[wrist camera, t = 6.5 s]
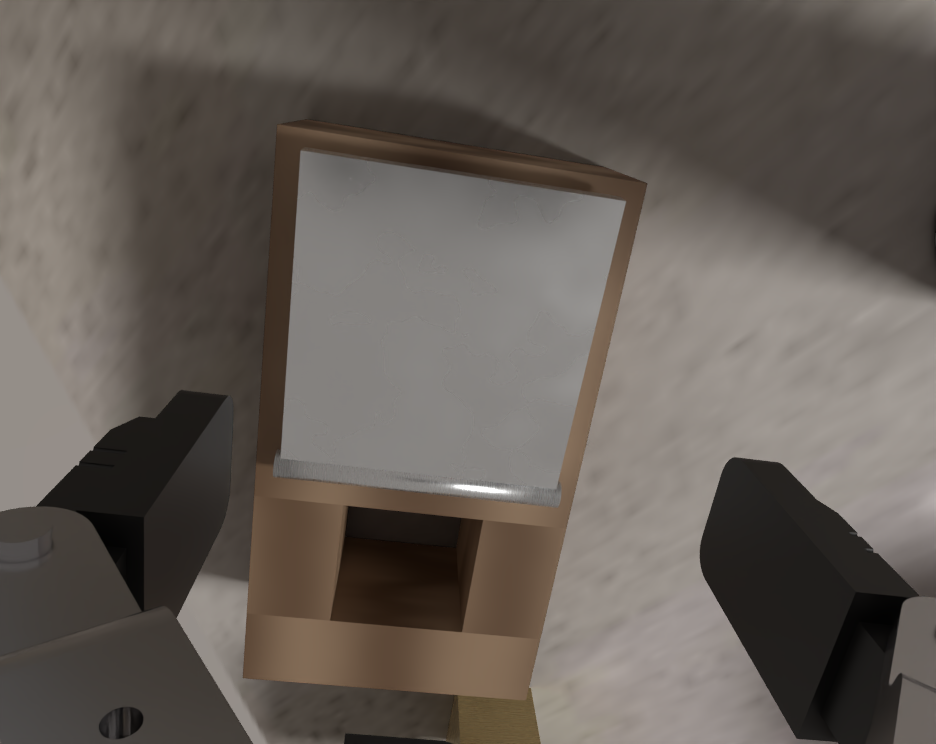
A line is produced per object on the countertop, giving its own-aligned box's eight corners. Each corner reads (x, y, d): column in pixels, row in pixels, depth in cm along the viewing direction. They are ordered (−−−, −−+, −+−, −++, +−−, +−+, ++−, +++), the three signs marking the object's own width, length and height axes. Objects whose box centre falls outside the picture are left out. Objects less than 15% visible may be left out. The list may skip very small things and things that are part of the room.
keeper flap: (626, 197, 23) (634, 203, 22) (553, 498, 28) (557, 513, 27) (298, 146, 22) (292, 150, 21) (277, 467, 27) (272, 482, 26)
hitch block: (604, 167, 29) (647, 183, 24) (510, 609, 37) (525, 700, 31) (306, 119, 28) (276, 124, 23) (271, 586, 36) (242, 677, 30)
